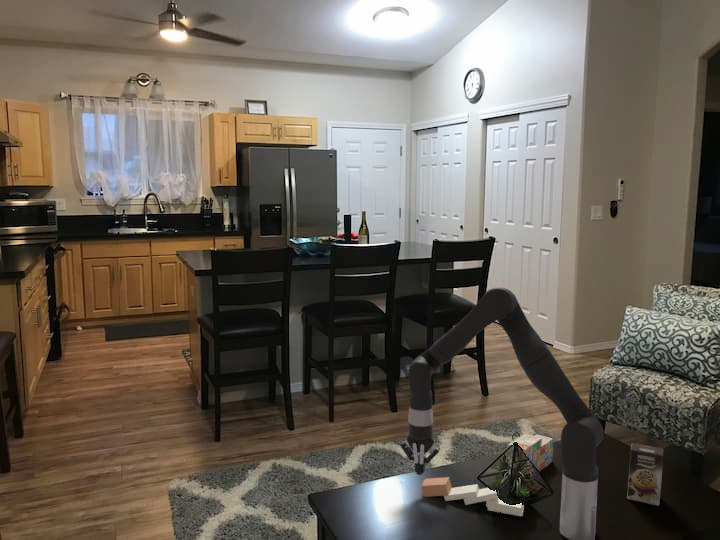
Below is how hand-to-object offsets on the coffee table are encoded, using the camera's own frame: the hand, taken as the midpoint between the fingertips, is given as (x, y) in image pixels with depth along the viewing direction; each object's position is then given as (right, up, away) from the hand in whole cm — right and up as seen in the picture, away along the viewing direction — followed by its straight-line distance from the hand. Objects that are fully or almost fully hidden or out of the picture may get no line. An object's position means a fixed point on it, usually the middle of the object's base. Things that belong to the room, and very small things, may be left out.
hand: (419, 473), depth 183 cm
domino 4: (+20, -5, -7) cm, 22 cm away
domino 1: (+1, -4, 0) cm, 5 cm away
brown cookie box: (+69, -7, -3) cm, 70 cm away
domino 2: (+8, -6, -3) cm, 10 cm away
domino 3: (+13, -6, -5) cm, 15 cm away
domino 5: (+20, -7, -8) cm, 23 cm away
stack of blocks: (+39, -5, +15) cm, 42 cm away
